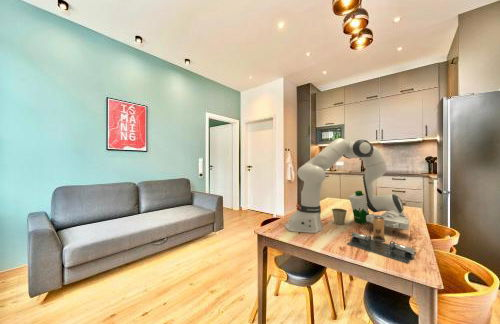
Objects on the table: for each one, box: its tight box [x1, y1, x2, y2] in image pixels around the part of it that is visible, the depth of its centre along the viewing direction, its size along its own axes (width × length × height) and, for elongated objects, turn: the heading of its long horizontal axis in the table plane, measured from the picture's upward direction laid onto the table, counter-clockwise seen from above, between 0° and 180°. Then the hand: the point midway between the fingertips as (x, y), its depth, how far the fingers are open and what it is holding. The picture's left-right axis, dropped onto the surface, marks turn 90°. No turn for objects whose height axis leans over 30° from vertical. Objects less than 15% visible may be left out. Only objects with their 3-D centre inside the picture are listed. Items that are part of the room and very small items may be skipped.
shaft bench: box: [346, 231, 417, 264], centre depth 93 cm, size 25×14×5 cm, turn 40°
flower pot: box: [331, 208, 348, 225], centre depth 131 cm, size 9×9×9 cm
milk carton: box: [347, 190, 370, 225], centre depth 130 cm, size 9×9×20 cm
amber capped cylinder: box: [372, 215, 386, 243], centre depth 103 cm, size 5×5×12 cm
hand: (382, 224), depth 107 cm, fingers open, 8 cm apart
